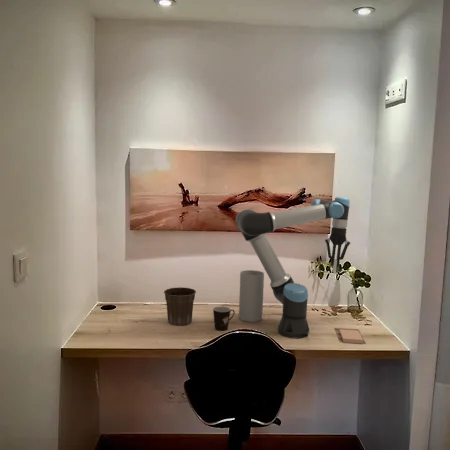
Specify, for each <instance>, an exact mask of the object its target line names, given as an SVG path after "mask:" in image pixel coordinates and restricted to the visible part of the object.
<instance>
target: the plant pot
mask: <svg viewBox="0 0 450 450" xmlns="http://www.w3.org/2000/svg"><path fill="white" fill-rule="evenodd" d="M196 293H197V290H195V289H194V288H190V287H171V288H166V289H165V290H164V291H163V294H164V299H165V303H166V314H167V323H168V324H170V325H172V326H179V325H181V326H187V325H189V324H191V323H192V321H193V311H194V301H195V297H196V296H195V295H196Z"/></svg>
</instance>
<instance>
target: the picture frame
mask: <svg viewBox="0 0 450 450" xmlns="http://www.w3.org/2000/svg"><path fill="white" fill-rule="evenodd" d="M359 331H360V330H359ZM359 331H356V330H342V329H339V334H340V336H341V339H342V341H343V342H342V343H348V344H360V343H361V345H362V344H363V339H364V338H363V339H362V337H363V336H362V337H361V335H362V334H361V335H360V333H361V332H360V333H359Z"/></svg>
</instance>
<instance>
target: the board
mask: <svg viewBox="0 0 450 450" xmlns="http://www.w3.org/2000/svg"><path fill="white" fill-rule="evenodd" d="M333 329H334V331H335V333H336V336H337V337H336V338H337V339H338V342H339V343H344V342H343V341H342V339H341V336H340V334H339V329H342V330H356V331H359V333H360V335H361V337H362V339H363V344H364V345H367V343H366V340H365V338H364V336H363V335H362V333H361V331H360V329H358V328H344V327H333ZM359 344H361V343H359ZM361 345H362V344H361Z"/></svg>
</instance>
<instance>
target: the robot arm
mask: <svg viewBox="0 0 450 450" xmlns="http://www.w3.org/2000/svg"><path fill="white" fill-rule="evenodd" d="M350 203H351V201H350V199H349V198H348V197H341V196H340V197H339V196H336V197H334V200H329V199H319V198H318V199H317V198H316V199H313V200H311V204H310V205H309V206H304V207H299V208H294V209H289V210H284V211H278V212H274V213H272V212H270V211H267V212H256V211H255V210H253V209H250V208H249V209H248V208H247V209H243V210H240V212H238V214H237V215H236V217H235V225H236V226H235V227H236V228H237V229H238V230H239V231H240V233H241V234H242V236H243V238H244V240H245V241H246V242H249V244H250V245H251V247H252V248H253V250H254V253H255V254H256V255H257V258H258V260H259V261H260V264H261V265H262V266H263V269H264V270H265V273H266V274H267V276H268V278H269V280H270V283H269V286H270V288H271V290H272V293H273V296H274V298H276V300H277V301H278V302H280V303H281V304H282V317H281V319H280V322H279V324H278V328H277V333H278V334H280V335H281V336H283V337H286V338H291V339H302V338H303V339H304V338H307V337H308V336H309V333H310V326H309V324H308V321H307V320H308V319H307V314H308V313H307V312H308V311H307V310H308V299H309V291H308V288H307V287H306V286H305V285H303V284H300V283H297V282H295V281H294V280H293V278H292V276H291V274H289V273H286V271H285V269H284V267H283V265H282V264H281V263H282V262H281V261H280V260H279V258H278V255H277V254H276V252H275V250H274V248H273V247H272V245H271V242H270V240H269V239H268V237H267V234H268V233H269V234H271V233H274V231H275V230H277V229H284V228H288V227H292V226H297V225H302V224H307V223H313V222H317V221H323V220H329V219H332V221H331V222H332V223H331V230H330V235H329V238H327V239H325V240H324V242H325V244H326V251H327V257H328V258H329V259H331V260H330V261H331V262H330V265H331V266H332V270H331V272H332V273H337V267H339V265H340V260H343V259H344V257H345V255H346V252H347V250H348V248H349V245H351V242H350V241H349V240H347V236H346V235H347V227H348V219H349V213H350V212H349V211H350ZM330 242H331V243H332V252H331V246H330ZM343 244H344V246H343V249H342V245H343ZM336 249H337V251H336ZM341 249H342V251H341ZM335 257H336V258H335Z"/></svg>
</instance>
